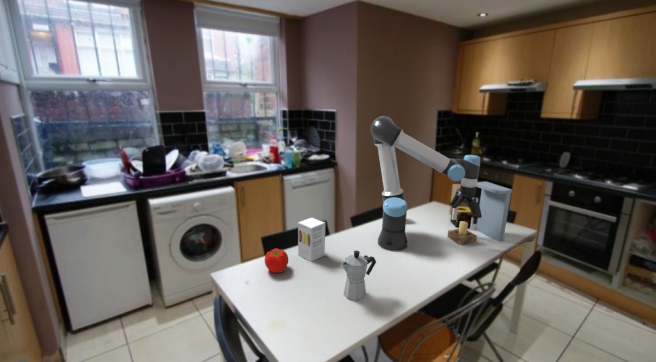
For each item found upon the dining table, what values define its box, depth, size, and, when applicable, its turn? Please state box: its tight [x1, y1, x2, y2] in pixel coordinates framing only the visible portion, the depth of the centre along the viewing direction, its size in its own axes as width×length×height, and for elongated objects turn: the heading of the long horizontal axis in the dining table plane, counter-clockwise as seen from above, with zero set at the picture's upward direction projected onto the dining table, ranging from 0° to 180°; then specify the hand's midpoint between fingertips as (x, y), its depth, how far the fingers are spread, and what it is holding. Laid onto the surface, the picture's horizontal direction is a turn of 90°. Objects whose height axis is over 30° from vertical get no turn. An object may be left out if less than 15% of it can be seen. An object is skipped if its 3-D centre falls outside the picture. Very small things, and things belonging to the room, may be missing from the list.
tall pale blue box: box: [475, 181, 513, 243], centre depth 171 cm, size 9×17×28 cm, turn 20°
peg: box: [458, 221, 469, 236], centre depth 168 cm, size 4×4×10 cm
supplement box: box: [297, 217, 326, 262], centre depth 150 cm, size 10×9×17 cm
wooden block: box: [448, 183, 469, 215], centre depth 202 cm, size 10×10×20 cm
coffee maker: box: [340, 250, 377, 302], centre depth 120 cm, size 15×9×18 cm, turn 114°
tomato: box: [264, 248, 289, 274], centre depth 137 cm, size 11×11×9 cm
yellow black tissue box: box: [450, 207, 473, 229], centre depth 189 cm, size 10×10×10 cm
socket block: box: [447, 228, 478, 246], centre depth 169 cm, size 10×10×4 cm
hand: (462, 224), depth 168 cm, fingers open, 13 cm apart
